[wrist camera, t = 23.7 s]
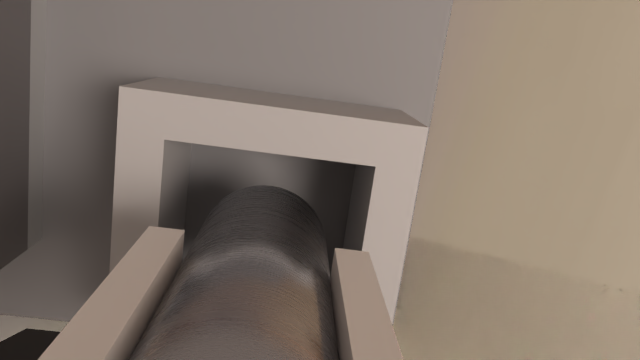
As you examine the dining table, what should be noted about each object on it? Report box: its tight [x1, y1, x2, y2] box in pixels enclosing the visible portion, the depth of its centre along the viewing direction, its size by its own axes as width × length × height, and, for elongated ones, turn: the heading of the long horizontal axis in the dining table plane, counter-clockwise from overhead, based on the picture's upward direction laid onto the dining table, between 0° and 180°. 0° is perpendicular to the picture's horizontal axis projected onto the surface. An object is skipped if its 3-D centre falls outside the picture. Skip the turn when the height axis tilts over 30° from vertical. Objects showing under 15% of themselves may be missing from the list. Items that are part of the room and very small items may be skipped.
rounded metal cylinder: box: [129, 185, 340, 360], centre depth 11 cm, size 4×4×10 cm
